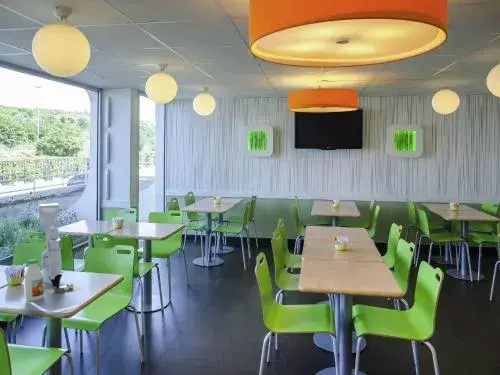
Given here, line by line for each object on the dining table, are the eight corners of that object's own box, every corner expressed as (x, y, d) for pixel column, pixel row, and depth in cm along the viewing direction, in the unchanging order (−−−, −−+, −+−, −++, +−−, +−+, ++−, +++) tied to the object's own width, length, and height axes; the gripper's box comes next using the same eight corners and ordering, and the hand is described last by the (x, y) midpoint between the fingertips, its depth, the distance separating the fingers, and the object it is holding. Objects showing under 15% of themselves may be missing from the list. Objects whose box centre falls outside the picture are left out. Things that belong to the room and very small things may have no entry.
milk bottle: (25, 303, 206) (23, 262, 204) (26, 298, 213) (24, 258, 211) (43, 301, 209) (41, 260, 207) (44, 296, 216) (42, 257, 215)
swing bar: (71, 287, 225) (71, 281, 225) (74, 289, 223) (74, 283, 223) (51, 292, 218) (51, 286, 218) (54, 293, 216) (53, 287, 216)
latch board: (44, 292, 223) (44, 285, 223) (71, 285, 233) (70, 279, 233) (55, 297, 214) (54, 290, 214) (82, 290, 224) (82, 283, 224)
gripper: (60, 266, 213) (61, 293, 214) (66, 259, 227) (67, 284, 228) (44, 267, 211) (46, 294, 212) (51, 259, 225) (53, 285, 227)
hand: (56, 289), depth 220 cm, fingers closed, pressing on swing bar
